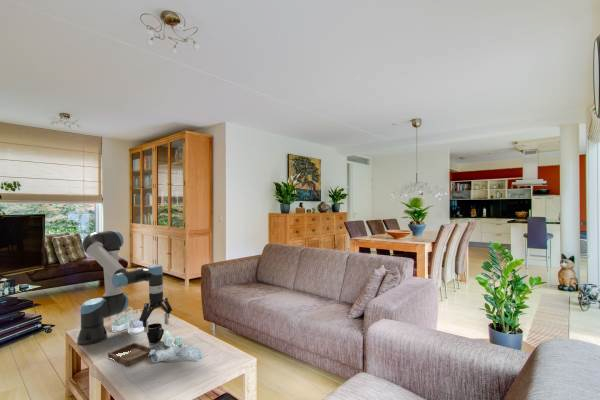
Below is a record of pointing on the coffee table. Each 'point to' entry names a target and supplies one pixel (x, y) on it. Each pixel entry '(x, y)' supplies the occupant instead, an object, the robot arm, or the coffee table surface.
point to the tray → (130, 354)
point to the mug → (155, 332)
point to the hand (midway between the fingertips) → (156, 328)
